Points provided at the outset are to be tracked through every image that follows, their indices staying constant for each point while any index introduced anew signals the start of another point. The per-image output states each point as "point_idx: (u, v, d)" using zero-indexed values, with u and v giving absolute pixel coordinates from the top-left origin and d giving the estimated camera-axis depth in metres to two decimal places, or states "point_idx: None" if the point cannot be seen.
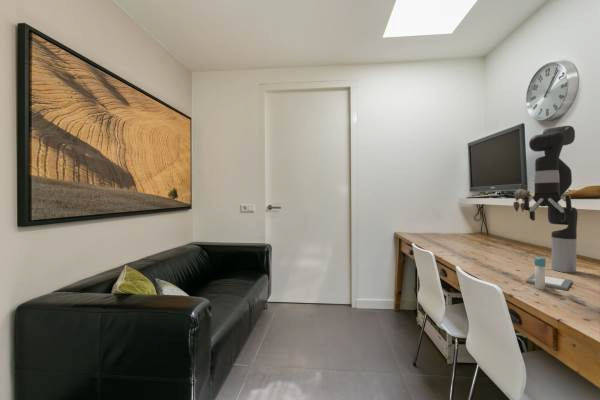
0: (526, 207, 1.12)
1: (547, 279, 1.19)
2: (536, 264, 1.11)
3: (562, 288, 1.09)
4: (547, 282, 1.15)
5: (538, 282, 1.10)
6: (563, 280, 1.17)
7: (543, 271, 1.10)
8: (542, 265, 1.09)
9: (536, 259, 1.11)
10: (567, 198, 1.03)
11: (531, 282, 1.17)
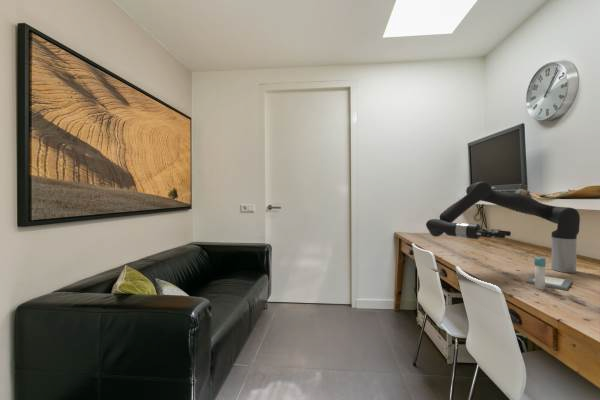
0: None
1: (547, 279, 1.19)
2: (536, 264, 1.11)
3: (562, 288, 1.09)
4: (547, 282, 1.15)
5: (538, 282, 1.10)
6: (563, 280, 1.17)
7: (543, 271, 1.10)
8: (542, 265, 1.09)
9: (536, 259, 1.11)
10: None
11: (531, 282, 1.17)
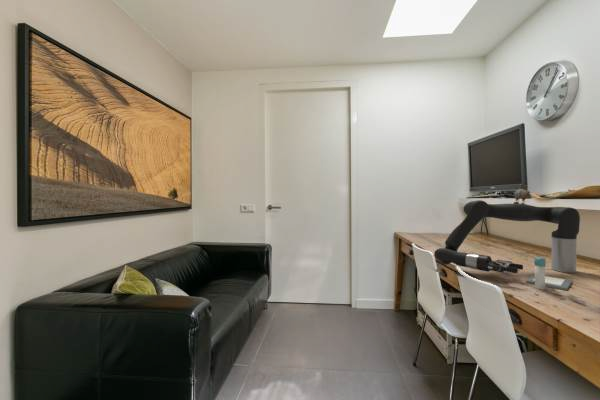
0: (509, 266, 1.25)
1: (547, 279, 1.19)
2: (536, 264, 1.11)
3: (562, 288, 1.09)
4: (547, 282, 1.15)
5: (538, 282, 1.10)
6: (563, 280, 1.17)
7: (543, 271, 1.10)
8: (542, 265, 1.09)
9: (536, 259, 1.11)
10: None
11: (531, 282, 1.17)
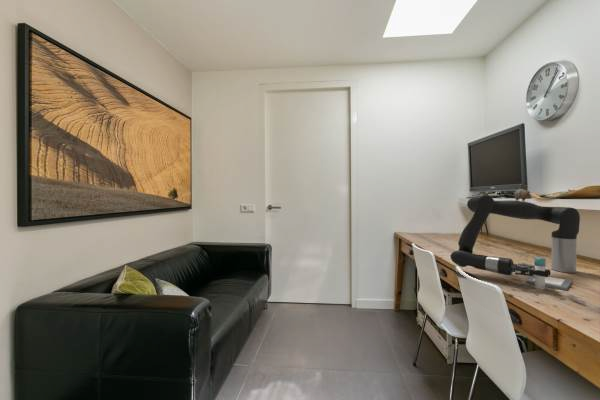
0: None
1: (547, 279, 1.19)
2: (536, 264, 1.11)
3: (562, 288, 1.09)
4: (547, 282, 1.15)
5: (538, 282, 1.10)
6: (563, 280, 1.17)
7: None
8: (542, 265, 1.09)
9: (536, 259, 1.11)
10: None
11: (531, 282, 1.17)
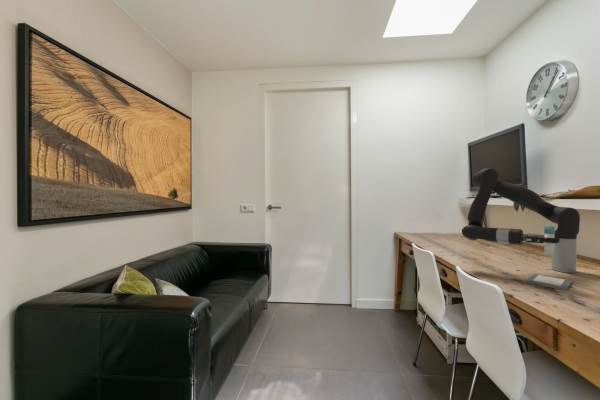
0: None
1: (547, 279, 1.19)
2: (546, 232, 1.16)
3: (562, 288, 1.09)
4: (547, 282, 1.15)
5: (548, 249, 1.16)
6: (563, 280, 1.17)
7: None
8: (552, 232, 1.15)
9: (546, 227, 1.16)
10: None
11: (531, 282, 1.17)
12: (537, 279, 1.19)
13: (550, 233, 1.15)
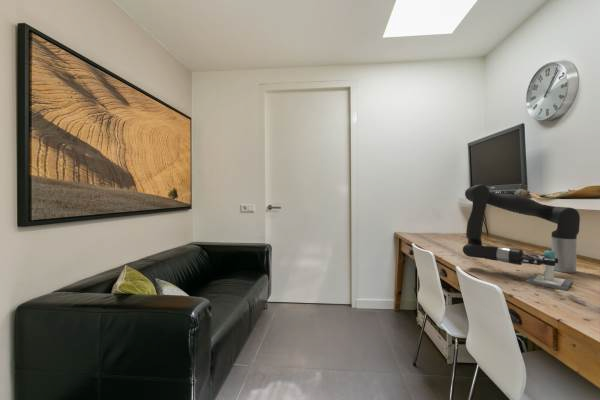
0: None
1: None
2: (546, 257, 1.18)
3: (562, 288, 1.09)
4: (547, 282, 1.15)
5: (547, 274, 1.18)
6: (563, 280, 1.17)
7: None
8: (552, 258, 1.16)
9: (546, 252, 1.18)
10: None
11: (531, 282, 1.17)
12: (537, 279, 1.19)
13: (550, 258, 1.17)
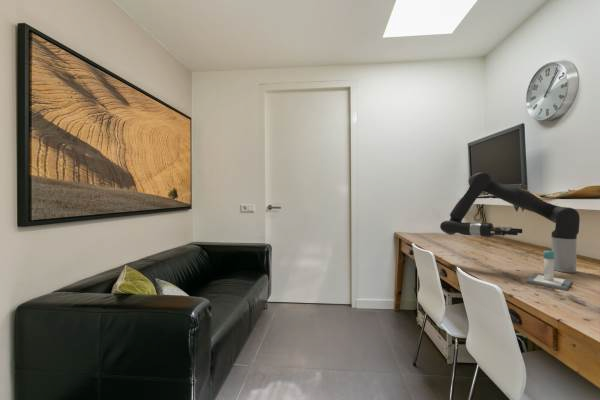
0: None
1: None
2: (545, 257, 1.18)
3: (562, 288, 1.09)
4: (547, 282, 1.15)
5: (547, 274, 1.18)
6: (563, 280, 1.17)
7: (552, 263, 1.17)
8: (551, 258, 1.17)
9: (545, 252, 1.18)
10: None
11: (531, 282, 1.17)
12: (537, 279, 1.19)
13: (549, 258, 1.17)
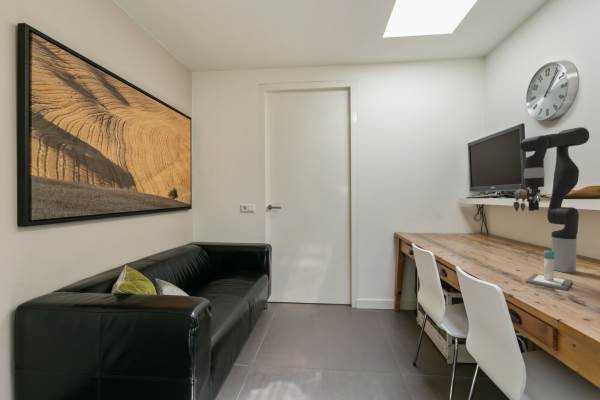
0: None
1: None
2: (545, 257, 1.18)
3: (562, 288, 1.09)
4: (547, 282, 1.15)
5: (547, 274, 1.18)
6: (563, 280, 1.17)
7: (552, 263, 1.17)
8: (551, 258, 1.17)
9: (545, 252, 1.18)
10: None
11: (531, 282, 1.17)
12: (537, 279, 1.19)
13: (549, 258, 1.17)
